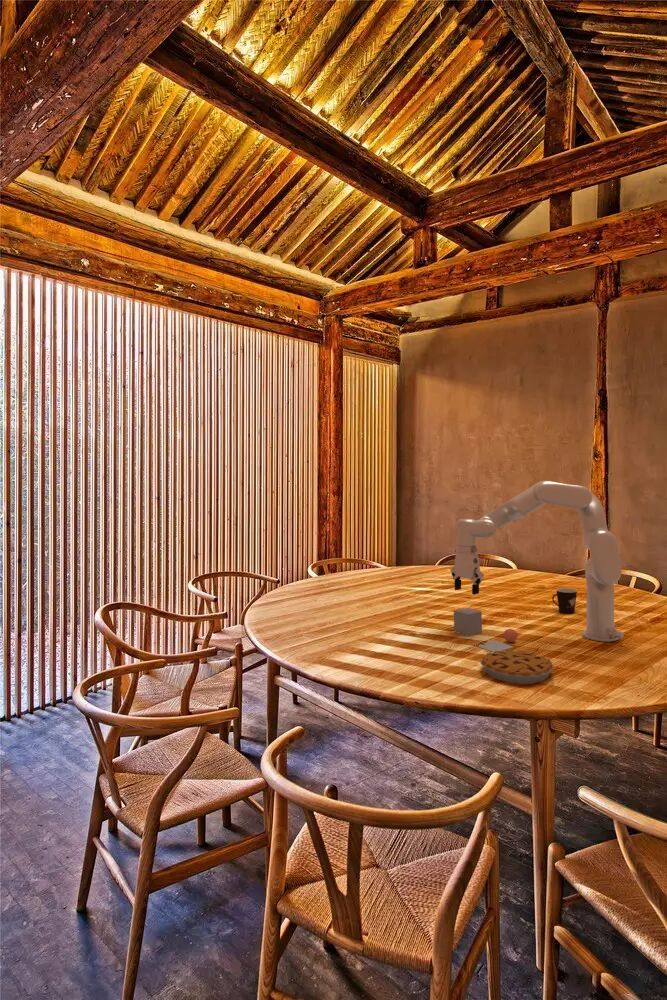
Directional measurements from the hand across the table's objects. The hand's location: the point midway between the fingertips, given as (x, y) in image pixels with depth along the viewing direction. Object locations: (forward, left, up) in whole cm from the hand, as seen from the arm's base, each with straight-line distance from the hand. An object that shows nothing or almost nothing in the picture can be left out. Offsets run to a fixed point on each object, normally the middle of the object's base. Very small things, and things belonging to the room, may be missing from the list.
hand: (466, 591), depth 217 cm
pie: (-40, +19, -17) cm, 48 cm away
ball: (-18, -4, -14) cm, 23 cm away
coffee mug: (-3, -57, -17) cm, 60 cm away
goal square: (-18, +5, -17) cm, 25 cm away
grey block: (0, 0, -17) cm, 17 cm away
